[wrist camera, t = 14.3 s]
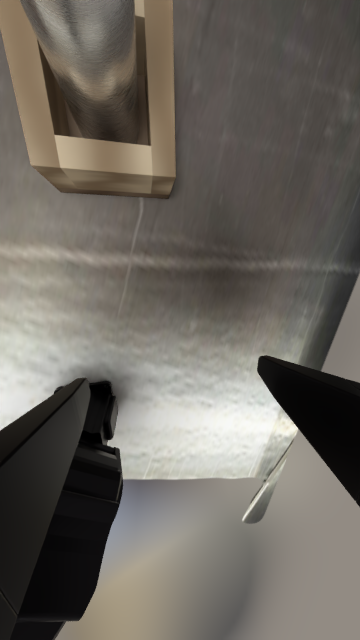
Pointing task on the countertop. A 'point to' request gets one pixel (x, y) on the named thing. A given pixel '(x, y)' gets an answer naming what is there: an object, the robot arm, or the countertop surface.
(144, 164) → the block
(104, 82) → the steel peg
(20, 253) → the countertop surface
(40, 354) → the countertop surface
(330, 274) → the countertop surface
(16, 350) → the countertop surface
